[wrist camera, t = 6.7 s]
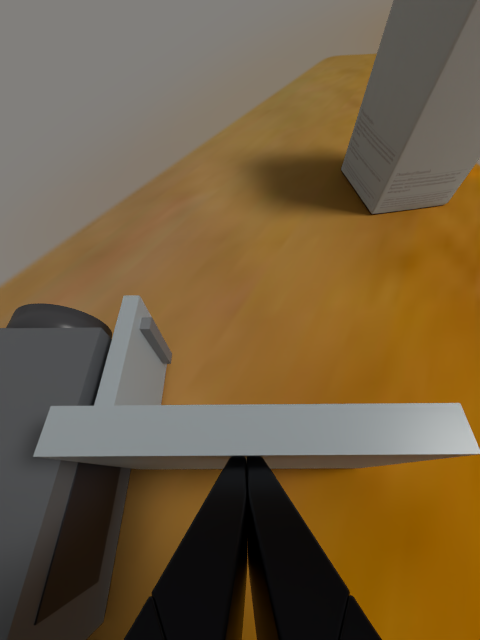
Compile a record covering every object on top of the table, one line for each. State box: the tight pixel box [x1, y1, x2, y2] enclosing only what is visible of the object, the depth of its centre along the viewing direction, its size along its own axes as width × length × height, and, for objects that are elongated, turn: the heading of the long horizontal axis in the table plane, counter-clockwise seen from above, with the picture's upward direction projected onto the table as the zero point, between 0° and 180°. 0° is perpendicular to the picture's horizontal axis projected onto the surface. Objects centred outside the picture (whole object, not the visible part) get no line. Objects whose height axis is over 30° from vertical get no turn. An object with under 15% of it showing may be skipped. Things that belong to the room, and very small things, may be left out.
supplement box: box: [341, 0, 480, 214], centre depth 20 cm, size 7×7×13 cm
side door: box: [33, 296, 480, 469], centre depth 11 cm, size 6×11×8 cm, turn 90°
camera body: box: [0, 304, 131, 640], centre depth 11 cm, size 12×7×7 cm, turn 0°
